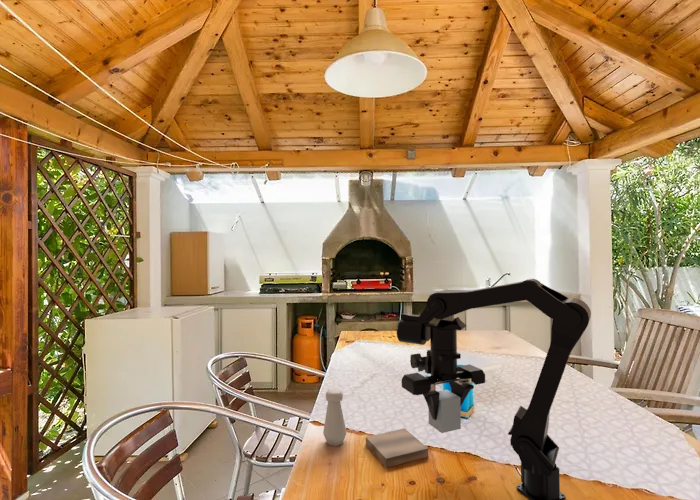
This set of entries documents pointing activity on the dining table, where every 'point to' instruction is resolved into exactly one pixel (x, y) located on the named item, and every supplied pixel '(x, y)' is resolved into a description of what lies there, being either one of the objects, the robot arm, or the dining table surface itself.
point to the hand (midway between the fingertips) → (444, 417)
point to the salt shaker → (334, 418)
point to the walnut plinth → (396, 447)
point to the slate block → (447, 412)
